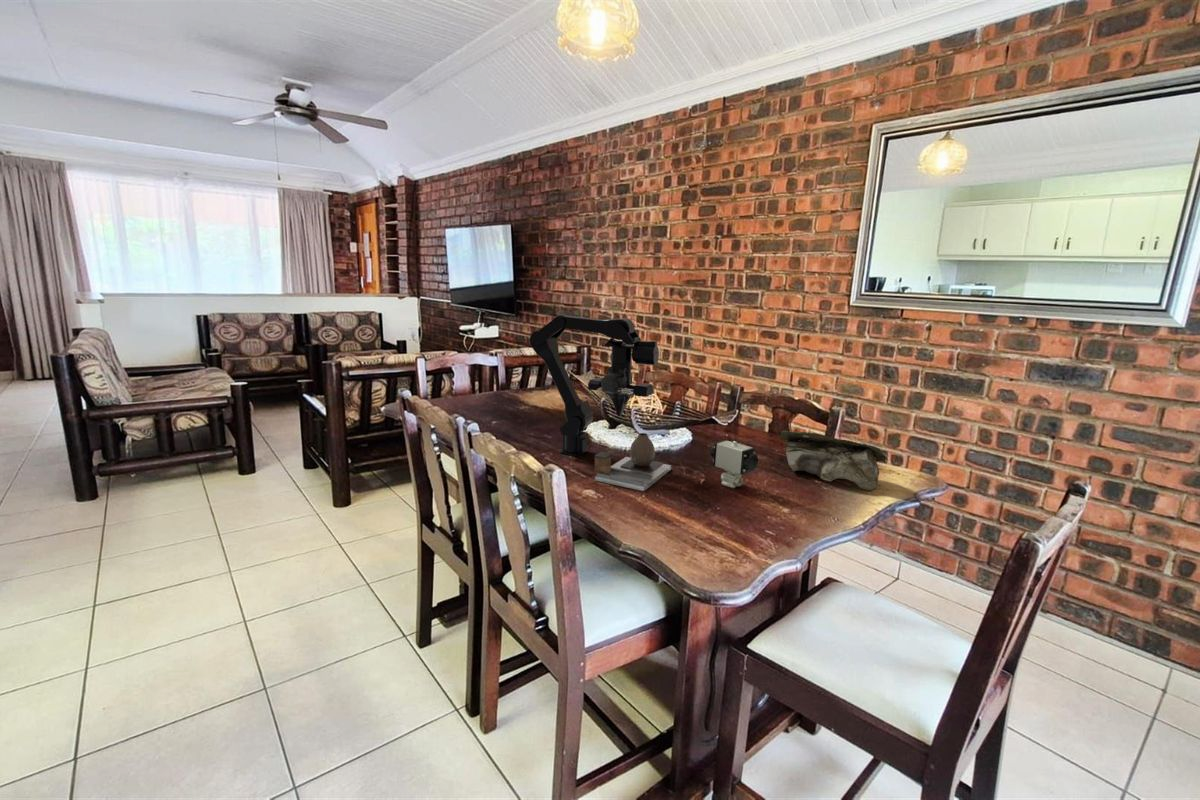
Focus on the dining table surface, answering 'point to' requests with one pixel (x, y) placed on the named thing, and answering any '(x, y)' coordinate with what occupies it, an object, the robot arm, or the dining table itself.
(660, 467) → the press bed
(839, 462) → the hollow geode rock
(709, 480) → the dining table surface
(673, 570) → the dining table surface
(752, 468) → the pneumatic valve
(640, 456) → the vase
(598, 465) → the brown block
